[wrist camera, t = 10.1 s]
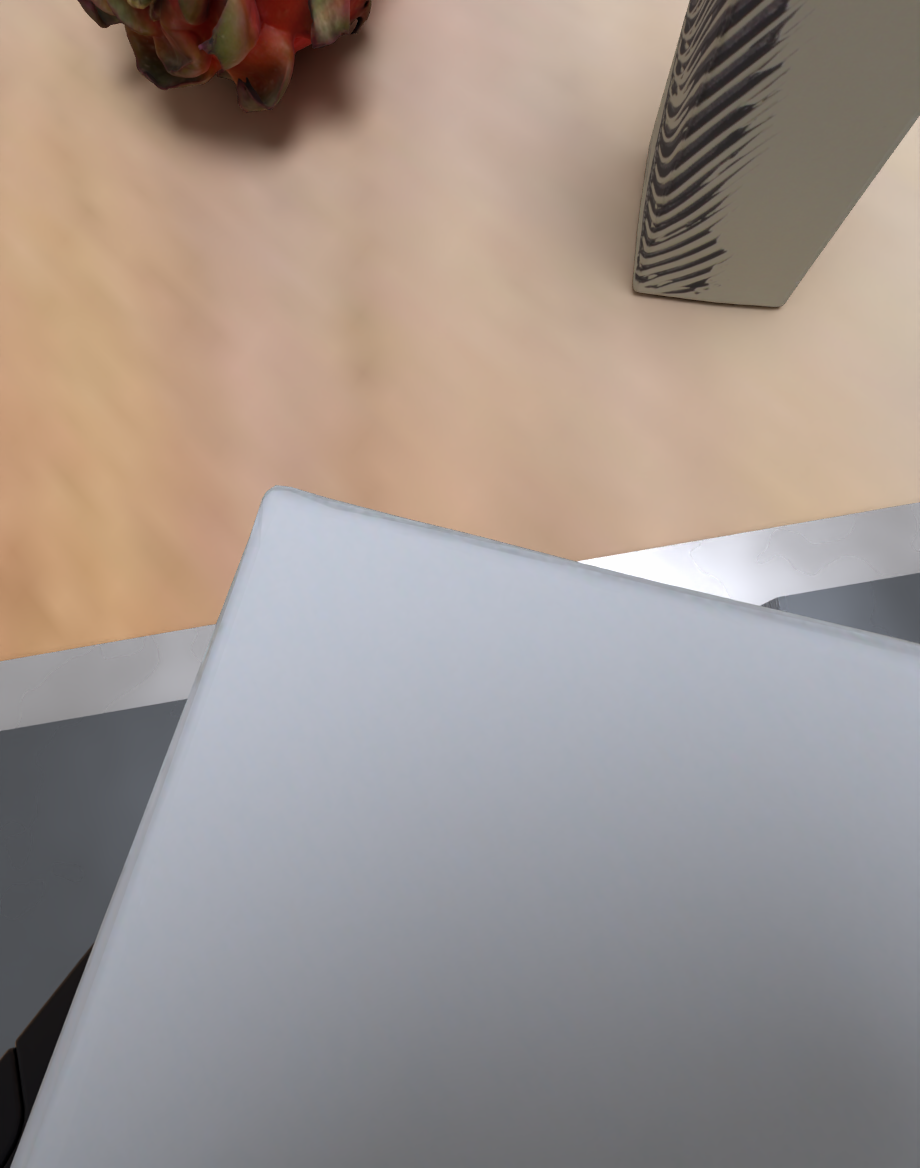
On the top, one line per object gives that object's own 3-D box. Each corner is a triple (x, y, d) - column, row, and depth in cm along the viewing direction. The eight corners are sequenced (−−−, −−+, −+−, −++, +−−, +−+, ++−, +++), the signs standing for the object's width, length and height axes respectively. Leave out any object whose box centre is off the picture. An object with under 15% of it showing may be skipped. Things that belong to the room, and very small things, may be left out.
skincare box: (707, 745, 15) (1427, 757, 3) (662, 956, 14) (1407, 1908, 3) (431, 666, 16) (249, 449, 4) (372, 864, 15) (-63, 1303, 3)
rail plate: (1161, 911, 16) (1406, 975, 12) (-3, 1106, 17) (-180, 1239, 12) (1018, 498, 19) (1181, 423, 14) (-15, 676, 19) (-170, 658, 14)
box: (646, 145, 21) (869, -719, 9) (799, 158, 21) (1265, -717, 8) (627, 306, 20) (852, -407, 8) (788, 323, 20) (1304, -392, 7)
